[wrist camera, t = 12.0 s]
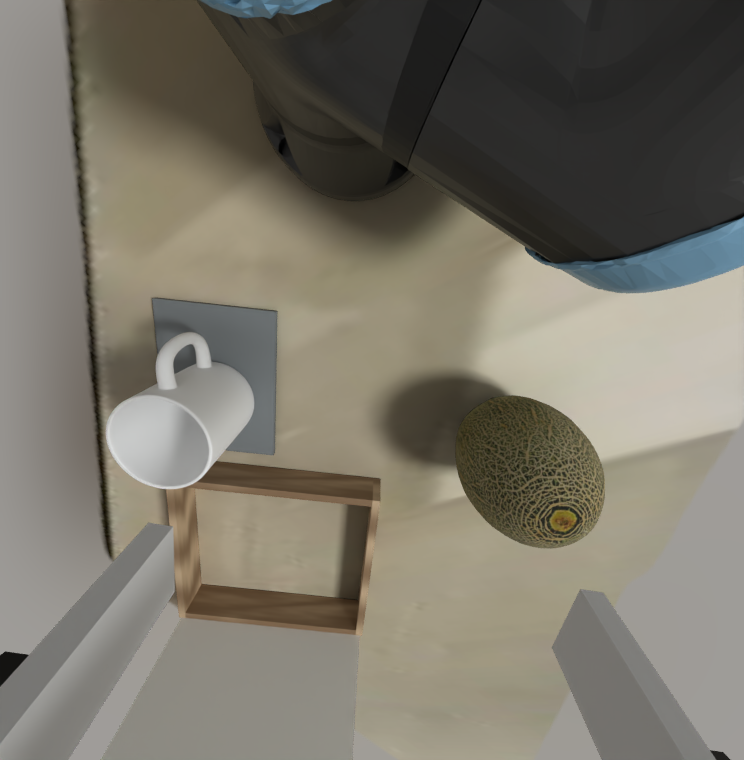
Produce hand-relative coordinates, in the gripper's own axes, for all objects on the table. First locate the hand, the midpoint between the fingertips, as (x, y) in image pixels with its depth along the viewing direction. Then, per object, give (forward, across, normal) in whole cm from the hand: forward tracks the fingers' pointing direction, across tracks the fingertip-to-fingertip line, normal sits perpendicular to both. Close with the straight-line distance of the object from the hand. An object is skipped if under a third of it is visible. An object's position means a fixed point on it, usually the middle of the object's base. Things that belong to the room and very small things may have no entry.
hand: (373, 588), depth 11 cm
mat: (+26, -16, -4) cm, 31 cm away
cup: (+25, -16, -4) cm, 30 cm away
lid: (+25, -7, -36) cm, 44 cm away
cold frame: (+26, -8, -24) cm, 36 cm away
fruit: (+26, +14, -5) cm, 30 cm away
